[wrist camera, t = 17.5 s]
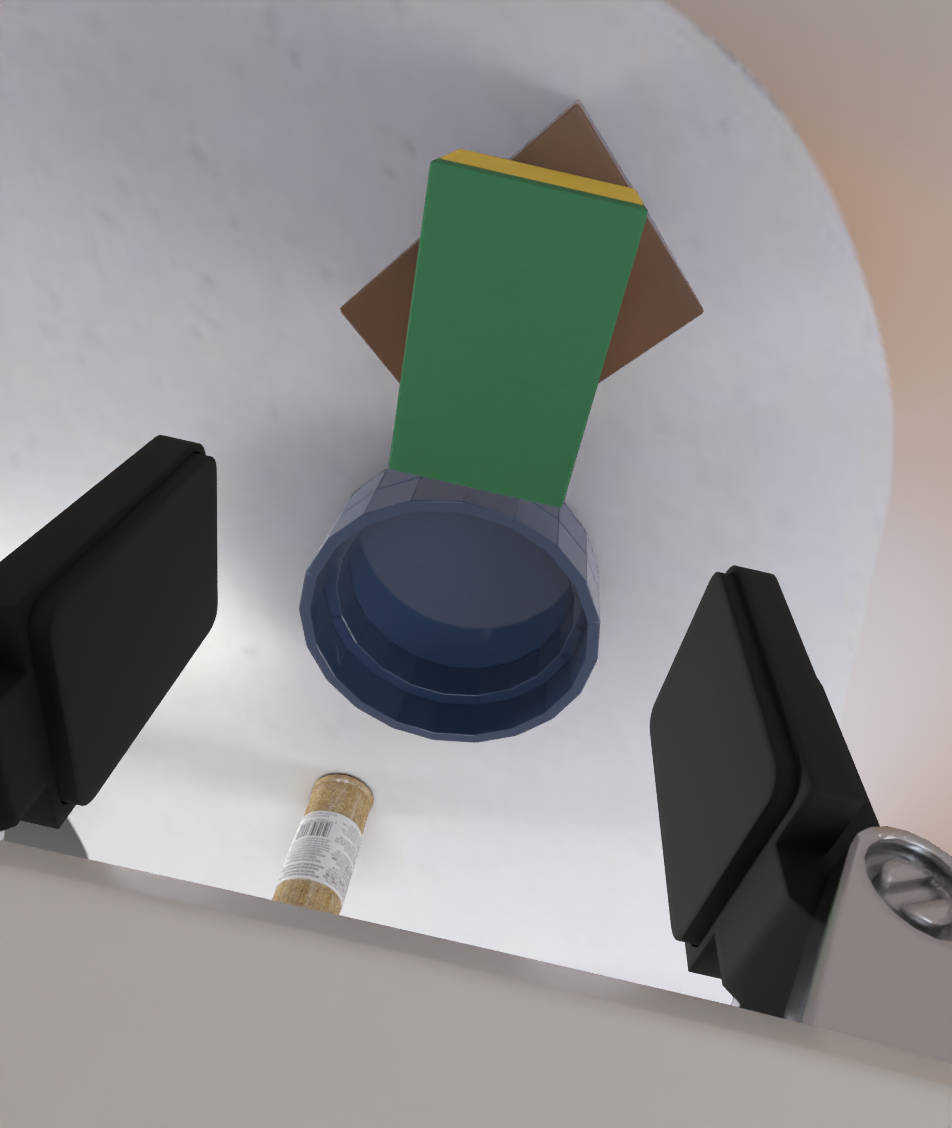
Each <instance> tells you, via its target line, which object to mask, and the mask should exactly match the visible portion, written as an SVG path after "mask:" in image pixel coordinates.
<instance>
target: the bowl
mask: <svg viewBox="0 0 952 1128" xmlns="http://www.w3.org/2000/svg"><path fill="white" fill-rule="evenodd" d="M299 611H300V616H301V621H302V625H303V630H304V635H305V640H306V645H307V647H308V649H309V651H310V652H311V654H312V656H313V657H314V659H315V661H316V663H317V664H318V666H319V668H320V669H321V671H322V673H323V674H324V676H325V678H326V679H327V680H328V681H329V682H330V683H331V684H332V685H333V686H334V687H335V688H336V689H337V690H338V691H339V692H340V693H341V694H342V695H344V696H345V697H346V698H347V699H348V700H349V701H350V702H351V703H352V704H353V705H354V706H355V707H357V708H358V709H360V710H362V711H363V712H365V713H367V714H369V715H371V716H372V717H374V718H376V719H378V720H380V721H381V722H383V723H385V724H387V725H389V726H390V727H392V728H395V729H398V730H401V731H405V732H408V733H412V734H415V735H419V736H422V737H425V738H429V739H432V740H443V741H459V742H483V741H489V740H495V739H500V738H506V737H512V736H516V735H519V734H521V733H523V732H526V731H528V730H530V729H532V728H534V727H536V726H538V725H541V724H543V723H545V722H547V721H549V720H551V719H552V718H554V717H555V716H556V715H558V714H559V713H560V712H561V711H562V710H563V709H564V708H565V707H566V706H567V705H568V704H570V703H571V702H572V701H573V700H574V699H575V698H576V697H577V696H578V695H579V694H580V693H581V692H582V690H583V688H584V686H585V684H586V682H587V680H588V678H589V676H590V674H591V672H592V670H593V668H594V666H595V664H596V662H597V659H598V648H599V633H600V603H599V576H598V566H597V563H596V560H595V557H594V554H593V550H592V547H591V544H590V541H589V538H588V535H587V533H586V530H585V529H584V528H583V526H582V525H581V524H580V522H579V521H578V520H577V518H576V517H575V516H574V515H573V513H572V512H571V511H570V509H569V508H568V507H567V506H566V504H565V503H564V502H563V505H562V507H561V508H558V507H554V506H549V505H545V504H541V503H536V502H532V501H527V500H523V499H519V498H514V497H510V496H506V495H501V494H497V493H492V492H488V491H484V490H479V489H475V488H471V487H466V486H462V485H457V484H453V483H449V482H444V481H440V480H435V479H431V478H427V477H422V476H418V475H414V474H409V473H405V472H400V471H396V470H392V469H387V470H385V471H384V472H382V473H381V474H379V475H378V476H377V477H375V478H374V479H372V480H371V481H370V482H368V483H367V484H365V485H364V486H363V487H361V488H360V489H358V490H357V491H356V492H355V493H354V494H353V495H352V496H351V498H350V499H349V501H348V502H347V504H346V505H345V507H344V508H343V510H342V511H341V513H340V514H339V516H338V517H337V519H336V520H335V522H334V524H333V525H332V527H331V529H330V530H329V532H328V534H327V536H326V537H325V539H324V541H323V543H322V544H321V546H320V548H319V550H318V551H317V553H316V555H315V556H314V558H313V560H312V562H311V563H310V565H309V567H308V569H307V570H306V573H305V579H304V584H303V590H302V595H301V601H300V606H299Z"/></svg>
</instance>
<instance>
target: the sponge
mask: <svg viewBox="0 0 952 1128" xmlns="http://www.w3.org/2000/svg"><path fill="white" fill-rule="evenodd" d="M647 215H648V211H647V209H646V207H645V206H644V204H643V202H642V201H641V199H640V197H639V195H638V194H637V192H636V190H635V189H633V188H629V187H625V186H620V185H616V184H612V183H607V182H603V181H599V180H594V179H590V178H586V177H581V176H577V175H573V174H568V173H564V172H559V171H555V170H551V169H546V168H542V167H538V166H533V165H529V164H525V163H520V162H516V161H512V160H507V159H503V158H499V157H494V156H490V155H485V154H481V153H477V152H472V151H468V150H464V149H458V150H456V151H454V152H452V153H450V154H447V155H445V156H443V157H441V158H439V159H436V160H433V161H432V162H431V163H430V170H429V177H428V184H427V192H426V199H425V206H424V213H423V221H422V228H421V235H420V242H419V250H418V257H417V264H416V271H415V279H414V286H413V293H412V301H411V308H410V315H409V322H408V330H407V337H406V344H405V351H404V359H403V366H402V373H401V380H400V388H399V395H398V402H397V410H396V417H395V424H394V431H393V439H392V446H391V453H390V460H389V469H392V470H396V471H400V472H405V473H409V474H414V475H418V476H422V477H427V478H431V479H435V480H440V481H444V482H449V483H453V484H457V485H462V486H466V487H471V488H475V489H479V490H484V491H488V492H492V493H497V494H501V495H506V496H510V497H514V498H519V499H523V500H527V501H532V502H536V503H541V504H545V505H549V506H554V507H558V508H561V507H562V505H563V501H564V498H565V495H566V491H567V488H568V484H569V481H570V478H571V474H572V471H573V467H574V464H575V460H576V457H577V454H578V450H579V447H580V443H581V440H582V437H583V433H584V430H585V426H586V423H587V420H588V416H589V413H590V409H591V406H592V403H593V399H594V396H595V392H596V389H597V385H598V382H599V379H600V375H601V372H602V368H603V365H604V362H605V358H606V355H607V351H608V348H609V345H610V341H611V338H612V334H613V331H614V328H615V324H616V321H617V317H618V314H619V310H620V307H621V304H622V300H623V297H624V293H625V290H626V287H627V283H628V280H629V276H630V273H631V270H632V266H633V263H634V259H635V256H636V252H637V249H638V246H639V242H640V239H641V235H642V232H643V229H644V225H645V222H646V218H647Z"/></svg>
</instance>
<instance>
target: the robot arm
mask: <svg viewBox="0 0 952 1128" xmlns="http://www.w3.org/2000/svg"><path fill="white" fill-rule="evenodd" d="M217 606H218V591H217V468H216V462H215V459H214V458H213V457H211V456H206V453H205V450H204V447H203V446H202V445H201V444H199V443H194V442H190V441H186V440H181V439H177V438H172V437H168V436H163V435H159V436H157V437H155V438H154V439H152V440H151V441H150V442H149V443H147V444H146V445H145V446H144V447H142V448H141V449H140V450H139V451H137V452H136V453H135V454H134V455H132V456H131V457H130V458H129V459H127V460H126V461H125V462H124V463H123V464H121V465H120V466H119V467H118V468H116V469H115V470H114V471H113V472H111V473H110V474H109V475H108V476H106V477H105V478H104V479H103V480H101V481H100V482H99V483H98V484H96V485H95V486H94V487H93V488H91V489H90V490H89V491H88V492H86V493H85V494H84V495H83V496H81V497H80V498H79V499H78V500H77V501H75V502H74V503H73V504H72V505H70V506H69V507H68V508H67V509H65V510H64V511H63V512H62V513H60V514H59V515H58V516H57V517H55V518H54V519H53V520H52V521H50V522H49V523H48V524H47V525H45V526H44V527H43V528H42V529H40V530H39V531H38V532H37V533H36V534H34V535H33V536H32V537H31V538H29V539H28V540H27V541H26V542H24V543H23V544H22V545H21V546H19V547H18V548H17V549H16V550H14V551H13V552H12V553H11V554H9V555H8V556H7V557H6V558H4V559H3V560H2V561H1V562H0V1128H952V856H950V855H949V854H948V853H946V852H945V851H943V850H941V849H940V848H939V847H937V846H936V845H934V844H932V843H931V842H930V841H928V840H926V839H923V838H921V837H919V836H917V835H915V834H912V833H910V832H908V831H905V830H900V829H896V828H892V827H888V826H883V827H880V825H879V823H878V820H877V818H876V816H875V813H874V811H873V808H872V806H871V803H870V801H869V799H868V796H867V794H866V791H865V789H864V786H863V784H862V782H861V779H860V776H859V774H858V772H857V769H856V767H855V764H854V762H853V759H852V757H851V754H850V752H849V750H848V747H847V745H846V742H845V740H844V737H843V736H842V732H841V730H840V728H839V725H838V723H837V720H836V718H835V715H834V713H833V710H832V708H831V706H830V703H829V701H828V698H827V696H826V693H825V691H824V688H823V686H822V685H821V683H820V681H819V680H818V678H817V677H816V674H815V672H814V670H813V667H812V665H811V662H810V660H809V657H808V655H807V652H806V650H805V647H804V645H803V642H802V640H801V637H800V635H799V632H798V630H797V628H796V625H795V623H794V620H793V618H792V615H791V613H790V610H789V608H788V605H787V603H786V600H785V598H784V595H783V593H782V591H781V588H780V586H779V583H778V581H777V578H776V577H775V575H773V574H770V573H766V572H761V571H757V570H752V569H748V568H744V567H739V566H735V565H734V566H732V567H730V568H729V569H728V571H727V572H726V574H725V573H720V572H716V573H715V574H714V575H713V576H712V578H711V580H710V581H709V584H708V586H707V588H706V590H705V593H704V595H703V597H702V599H701V601H700V604H699V606H698V608H697V610H696V613H695V615H694V617H693V619H692V621H691V624H690V626H689V628H688V630H687V633H686V635H685V637H684V639H683V641H682V644H681V646H680V648H679V650H678V653H677V655H676V657H675V659H674V661H673V664H672V666H671V668H670V670H669V673H668V675H667V677H666V679H665V681H664V684H663V686H662V688H661V690H660V693H659V695H658V697H657V699H656V701H655V704H654V706H653V709H652V713H651V719H650V736H651V746H652V755H653V764H654V773H655V782H656V792H657V801H658V810H659V819H660V828H661V837H662V847H663V856H664V865H665V874H666V883H667V893H668V902H669V911H670V920H671V928H672V933H673V936H674V938H675V939H676V940H678V941H682V942H685V947H686V955H687V963H688V971H689V972H693V973H698V974H702V975H706V976H711V977H715V978H720V979H722V985H723V986H724V987H725V988H726V989H727V991H728V992H729V993H730V994H731V995H732V996H733V1000H732V1003H731V1005H727V1004H723V1003H719V1002H714V1001H710V1000H706V999H701V998H697V997H693V996H688V995H684V994H680V993H675V992H671V991H667V990H663V989H658V988H654V987H650V986H645V985H641V984H637V983H632V982H628V981H624V980H619V979H615V978H611V977H606V976H602V975H598V974H593V973H589V972H585V971H580V970H576V969H572V968H568V967H563V966H559V965H555V964H550V963H546V962H542V961H537V960H533V959H529V958H524V957H520V956H516V955H511V954H507V953H503V952H498V951H494V950H490V949H485V948H481V947H477V946H472V945H468V944H463V943H459V942H455V941H450V940H446V939H441V938H437V937H433V936H428V935H424V934H419V933H415V932H411V931H406V930H402V929H397V928H393V927H389V926H384V925H380V924H375V923H371V922H366V921H362V920H358V919H353V918H349V917H344V916H340V915H336V914H331V913H327V912H322V911H318V910H313V909H309V908H304V907H300V906H296V905H291V904H287V903H282V902H278V901H273V900H269V899H264V898H260V897H256V896H251V895H247V894H242V893H238V892H233V891H229V890H224V889H220V888H216V887H211V886H207V885H202V884H198V883H193V882H189V881H184V880H180V879H175V878H171V877H166V876H161V875H157V874H152V873H148V872H143V871H139V870H134V869H130V868H125V867H121V866H116V865H112V864H107V863H103V862H98V861H93V860H89V859H84V858H80V857H75V856H70V855H66V854H62V853H56V852H53V851H48V850H43V849H39V848H34V847H30V846H25V845H21V844H16V843H12V842H7V841H3V838H4V830H6V829H9V828H11V827H14V826H16V825H17V824H18V823H19V822H20V820H21V821H25V822H30V823H34V824H39V825H43V826H47V827H52V828H56V829H59V828H60V826H61V825H62V824H63V822H64V821H65V819H66V818H67V817H68V815H69V814H70V812H71V811H72V810H73V808H74V807H75V805H76V804H77V805H81V806H84V805H87V804H88V803H90V802H91V801H92V800H93V798H94V797H95V796H96V795H97V793H98V792H99V790H100V789H101V787H102V786H103V785H104V783H105V782H106V780H107V779H108V777H109V776H110V774H111V773H112V772H113V770H114V769H115V767H116V766H117V764H118V763H119V761H120V760H121V759H122V757H123V756H124V754H125V753H126V751H127V750H128V748H129V747H130V745H131V744H132V743H133V741H134V740H135V738H136V737H137V735H138V734H139V732H140V731H141V730H142V728H143V727H144V725H145V724H146V722H147V721H148V719H149V718H150V717H151V715H152V714H153V712H154V711H155V709H156V708H157V706H158V705H159V704H160V702H161V701H162V699H163V698H164V696H165V695H166V693H167V692H168V691H169V689H170V688H171V686H172V685H173V683H174V682H175V680H176V679H177V678H178V676H179V675H180V673H181V672H182V670H183V669H184V667H185V666H186V665H187V663H188V662H189V660H190V659H191V657H192V656H193V654H194V653H195V652H196V650H197V649H198V647H199V646H200V644H201V643H202V641H203V640H204V639H205V637H206V636H207V634H208V633H209V631H210V630H211V628H212V626H213V623H214V621H215V618H216V614H217Z"/></svg>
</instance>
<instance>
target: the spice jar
mask: <svg viewBox="0 0 952 1128" xmlns="http://www.w3.org/2000/svg"><path fill="white" fill-rule="evenodd" d="M372 805H373V797H372V794H371V792H370V790H369V789H368V787H367V786H366V785H365V784H364V783H362V782H360V781H358V780H357V779H355V778H353V777H350V776H347V775H341V774H340V775H337V774H336V775H328V776H325V777H322V778H320V779H319V780H318V781H317V782H316V783H315V784H314V787H313V789H312V796H311V799H310V802H309V804H308V807H307V809H306V812H305V814H304V817H303V818H302V820H301V822H300V825H299V827H298V830H297V832H296V835H295V838H294V840H293V843H292V845H291V848H290V851H289V853H288V856H287V858H286V861H285V864H284V866H283V869H282V872H281V874H280V877H279V879H278V882H277V885H276V890H275V894H274V896H273V899H272V900H273V901H278V902H282V903H287V904H291V905H296V906H300V907H304V908H309V909H313V910H318V911H322V912H327V913H331V914H336V915H339V913H340V911H341V909H342V906H343V902H344V899H345V895H346V892H347V889H348V885H349V882H350V878H351V875H352V872H353V868H354V865H355V861H356V858H357V855H358V851H359V847H360V844H361V840H362V834H363V830H364V827H365V823H366V820H367V817H368V813H369V811H370V810H371V808H372Z"/></svg>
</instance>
